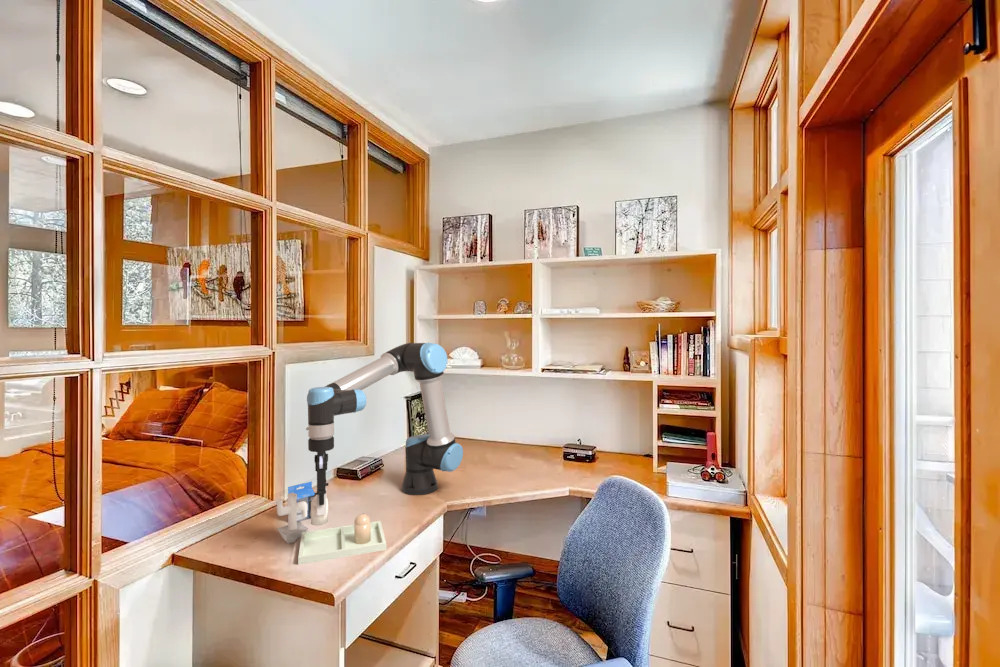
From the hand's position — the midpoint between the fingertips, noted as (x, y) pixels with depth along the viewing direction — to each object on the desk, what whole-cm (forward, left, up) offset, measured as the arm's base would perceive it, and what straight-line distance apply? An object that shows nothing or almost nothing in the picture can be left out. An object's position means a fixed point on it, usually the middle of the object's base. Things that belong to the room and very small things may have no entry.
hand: (321, 511), depth 144 cm
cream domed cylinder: (+1, 0, -3) cm, 3 cm away
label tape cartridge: (+7, -29, -13) cm, 33 cm away
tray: (-6, 0, -12) cm, 14 cm away
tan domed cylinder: (-12, 0, -11) cm, 17 cm away
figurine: (+9, -12, -13) cm, 20 cm away
